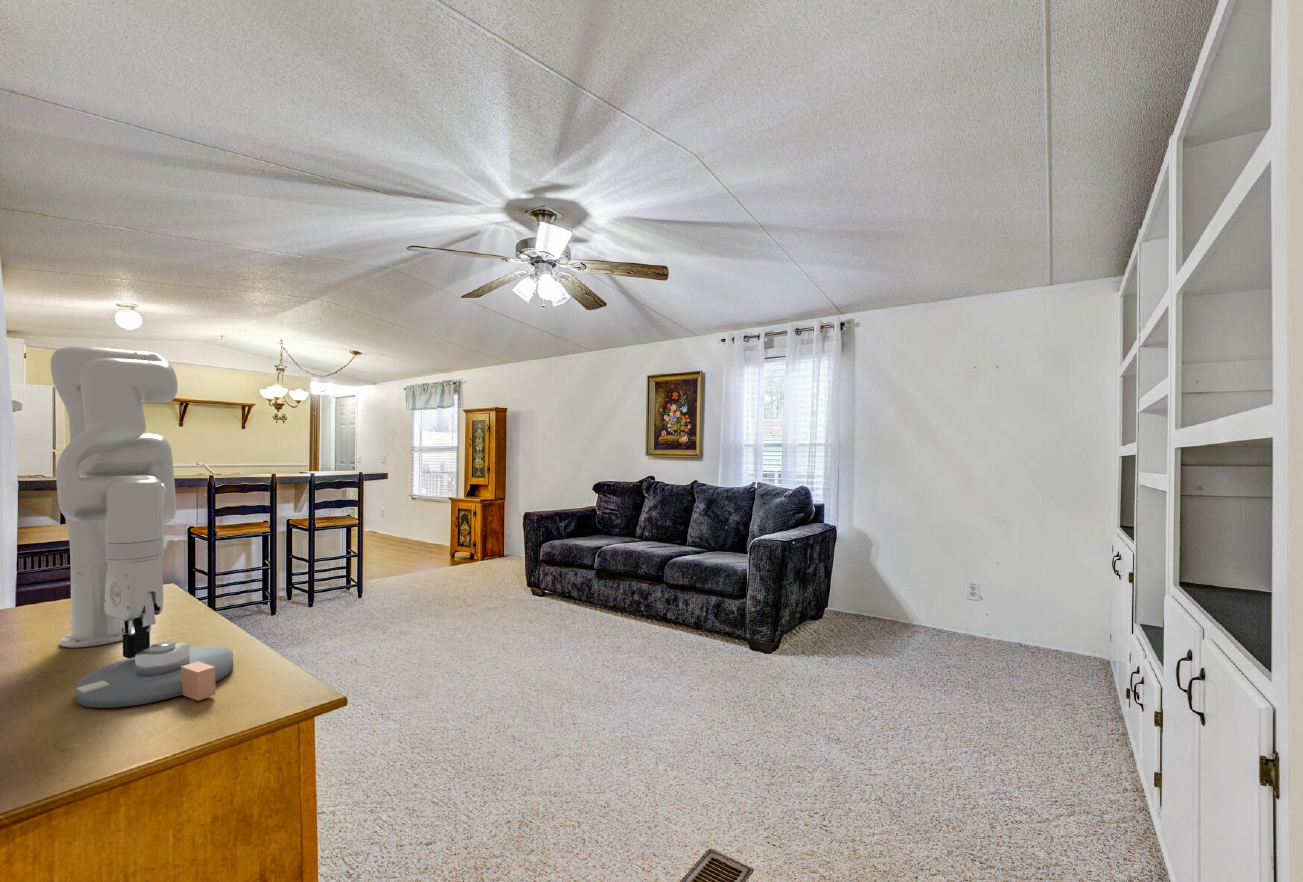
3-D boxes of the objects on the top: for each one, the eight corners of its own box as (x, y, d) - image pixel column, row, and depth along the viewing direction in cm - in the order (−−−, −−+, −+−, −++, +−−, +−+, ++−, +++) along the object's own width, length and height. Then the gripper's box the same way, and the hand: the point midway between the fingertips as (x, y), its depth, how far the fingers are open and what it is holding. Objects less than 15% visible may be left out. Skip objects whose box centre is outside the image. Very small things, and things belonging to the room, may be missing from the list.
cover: (126, 672, 96) (126, 648, 96) (176, 657, 102) (175, 635, 102) (149, 680, 93) (148, 655, 93) (198, 664, 99) (198, 641, 99)
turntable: (53, 691, 94) (53, 664, 93) (197, 650, 111) (196, 627, 111) (125, 726, 82) (125, 695, 82) (273, 674, 100) (272, 648, 100)
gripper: (88, 550, 101) (89, 655, 102) (129, 558, 95) (130, 671, 95) (141, 542, 108) (142, 641, 108) (183, 550, 101) (184, 655, 102)
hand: (136, 655), depth 102 cm, fingers closed
